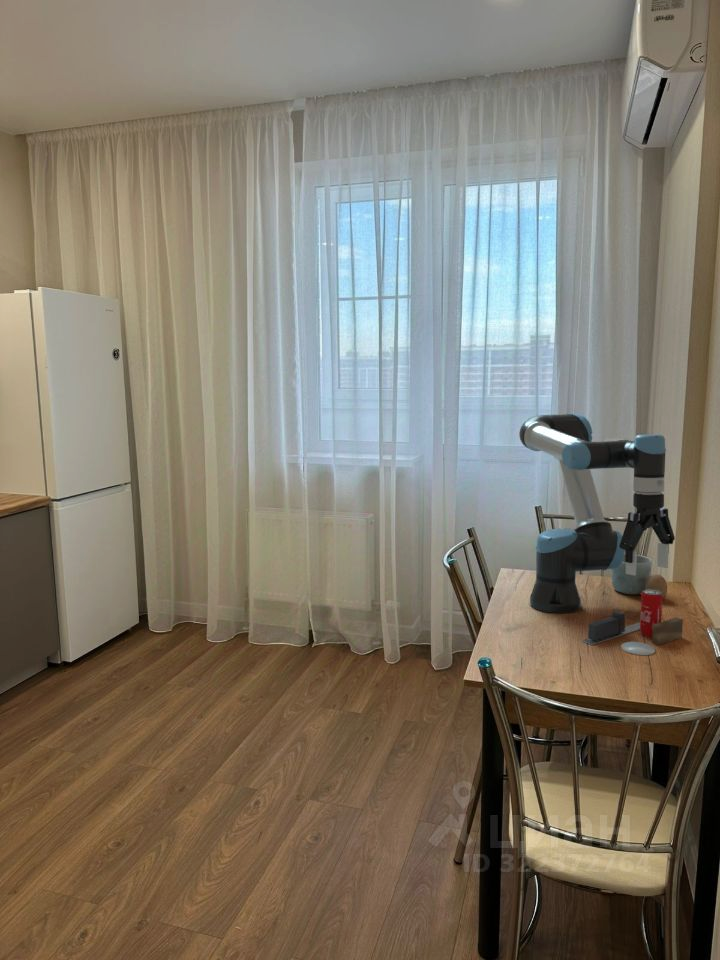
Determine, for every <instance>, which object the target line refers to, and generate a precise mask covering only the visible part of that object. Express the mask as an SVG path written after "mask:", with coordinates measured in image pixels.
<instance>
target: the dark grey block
mask: <svg viewBox="0 0 720 960" xmlns="http://www.w3.org/2000/svg"><path fill="white" fill-rule="evenodd" d="M625 627H626V612H623V611H620V610H614V611H612V614H611V616H610V617H607V618H604V619H600V620H597V621H596V620H595V621H593V622H590V623H588V636H587V637H588V638H589V639H592V640H594V641H595V640H598V639H601V638H604V637H607V636H610V635H613V634H616V633H622V632H625ZM588 638H587V639H588Z"/></svg>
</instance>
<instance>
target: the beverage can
mask: <svg viewBox="0 0 720 960" xmlns="http://www.w3.org/2000/svg"><path fill="white" fill-rule="evenodd" d="M640 595H641V597H640V621H639V622H640V633H641V635H642V636H644V637H646V638H651V639H652V634H653V625H654V624H657V623H660V622H662V618H663V617H662V615H663V598H662V593H661V592H660V591H658V590H653V589H645V590H643V592H642V594H640Z"/></svg>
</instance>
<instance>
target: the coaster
mask: <svg viewBox="0 0 720 960" xmlns="http://www.w3.org/2000/svg"><path fill="white" fill-rule="evenodd" d="M621 649H622V651H624V652H626V653H629V654H632V655H636V656H651V655H654V654H655V653H656V648H655V647H654V646H653V645H651V644H648V643H645V642H642V641H641V642H639V641H627V642H624V643H622V644H621Z"/></svg>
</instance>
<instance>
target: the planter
mask: <svg viewBox="0 0 720 960" xmlns="http://www.w3.org/2000/svg"><path fill="white" fill-rule="evenodd" d="M652 566H653V560H652V558H649V557H647V556H644V555H639V554H637V562H636V575H635V576H634V575H629V574H626V562H625V554H624V558H623V561H622V562H621V564H620V565H619V566H618V567H617V568H614V569H610V575H611V576H610V577H611V578H610V579H611V584H612V585H611V586H612V588H613V589H614V590H615V591H616V592H618V593H621V594H624V595H633V596H634V595H641V594H642V592H643V590H645V584H646V581H647V579H648V578H649V577H650V576H651V575H652Z"/></svg>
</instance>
